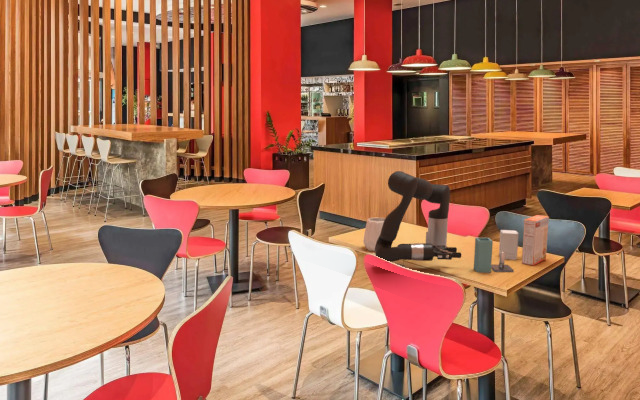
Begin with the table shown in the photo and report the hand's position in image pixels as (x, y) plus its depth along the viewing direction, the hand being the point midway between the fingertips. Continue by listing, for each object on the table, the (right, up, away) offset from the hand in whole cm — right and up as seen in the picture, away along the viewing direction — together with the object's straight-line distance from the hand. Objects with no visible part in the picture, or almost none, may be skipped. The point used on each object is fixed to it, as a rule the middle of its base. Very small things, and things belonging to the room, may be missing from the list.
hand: (458, 252), depth 230 cm
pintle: (+20, -8, +3) cm, 21 cm away
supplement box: (+29, -5, +22) cm, 37 cm away
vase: (-31, -2, +35) cm, 47 cm away
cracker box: (+39, -6, +15) cm, 42 cm away
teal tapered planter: (+10, -8, +1) cm, 13 cm away
